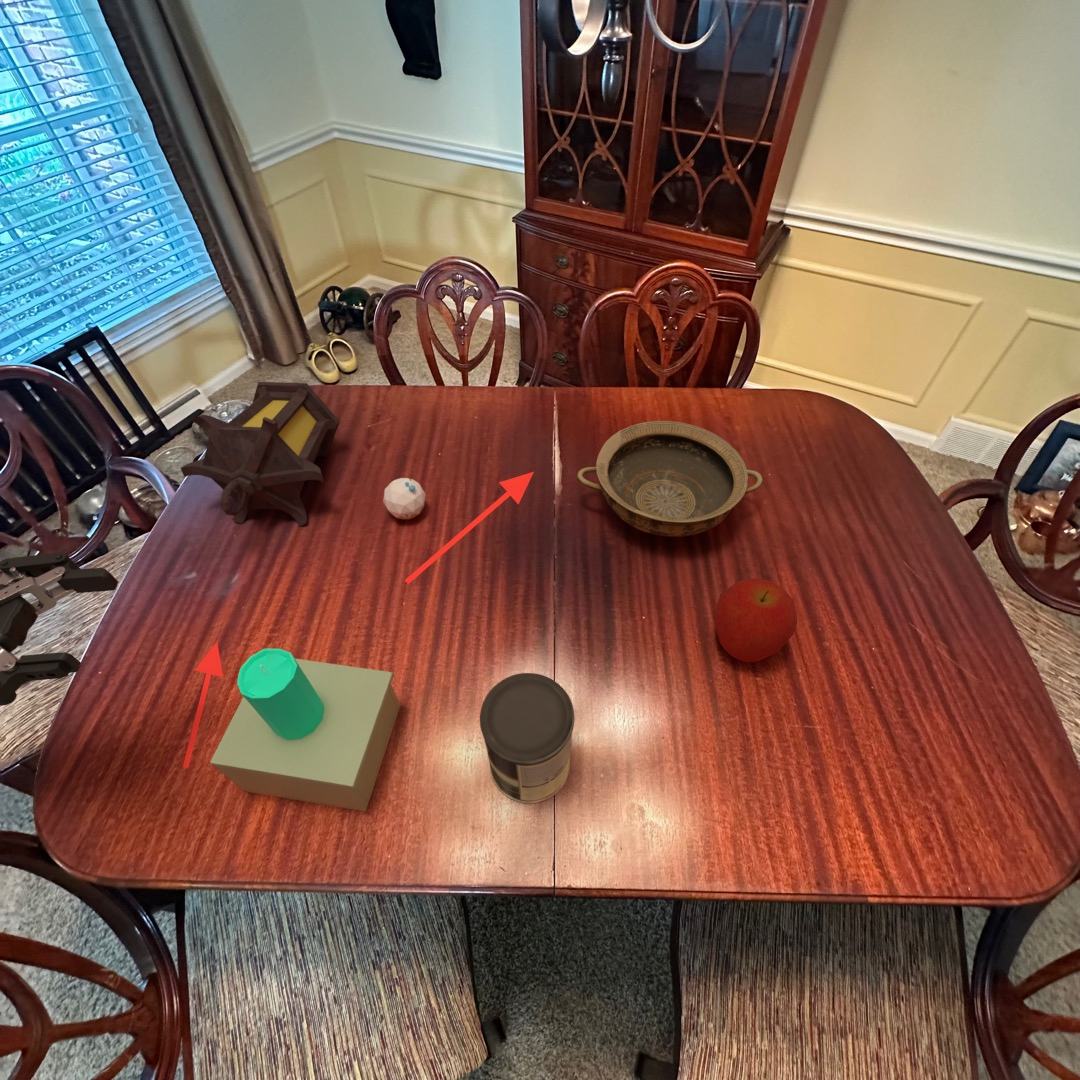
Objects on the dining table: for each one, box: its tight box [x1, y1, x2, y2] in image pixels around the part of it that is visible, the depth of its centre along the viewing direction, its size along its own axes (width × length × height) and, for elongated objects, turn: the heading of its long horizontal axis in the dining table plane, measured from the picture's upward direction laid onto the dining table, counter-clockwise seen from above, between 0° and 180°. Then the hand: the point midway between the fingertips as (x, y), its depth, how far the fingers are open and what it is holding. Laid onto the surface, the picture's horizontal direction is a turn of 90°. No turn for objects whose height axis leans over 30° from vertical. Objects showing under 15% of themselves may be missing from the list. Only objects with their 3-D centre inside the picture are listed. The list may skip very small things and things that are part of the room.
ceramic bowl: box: [576, 420, 764, 538], centre depth 100 cm, size 30×24×10 cm
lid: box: [209, 658, 394, 788], centre depth 71 cm, size 17×14×1 cm
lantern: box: [180, 381, 340, 528], centre depth 100 cm, size 21×23×30 cm
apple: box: [713, 578, 798, 663], centre depth 81 cm, size 10×10×14 cm
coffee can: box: [479, 672, 576, 804], centre depth 71 cm, size 10×10×14 cm
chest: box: [212, 683, 401, 813], centre depth 74 cm, size 16×14×9 cm
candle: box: [236, 648, 324, 740], centre depth 66 cm, size 6×6×12 cm
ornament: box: [382, 477, 427, 520], centre depth 101 cm, size 7×7×8 cm
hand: (94, 618), depth 53 cm, fingers open, 8 cm apart
